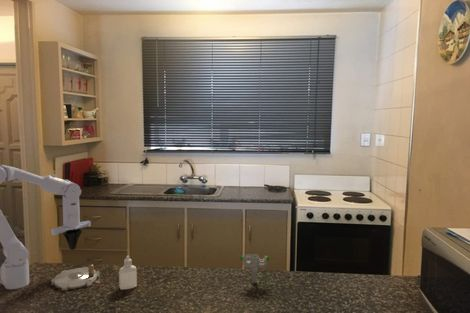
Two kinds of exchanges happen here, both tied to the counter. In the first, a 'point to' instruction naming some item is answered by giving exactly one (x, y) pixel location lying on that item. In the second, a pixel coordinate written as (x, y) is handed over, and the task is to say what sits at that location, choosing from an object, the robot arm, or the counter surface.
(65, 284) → the tabbed shallow bowl
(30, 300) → the counter surface
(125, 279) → the eye dropper bottle
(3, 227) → the robot arm
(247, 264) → the mechanical component
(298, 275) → the counter surface
